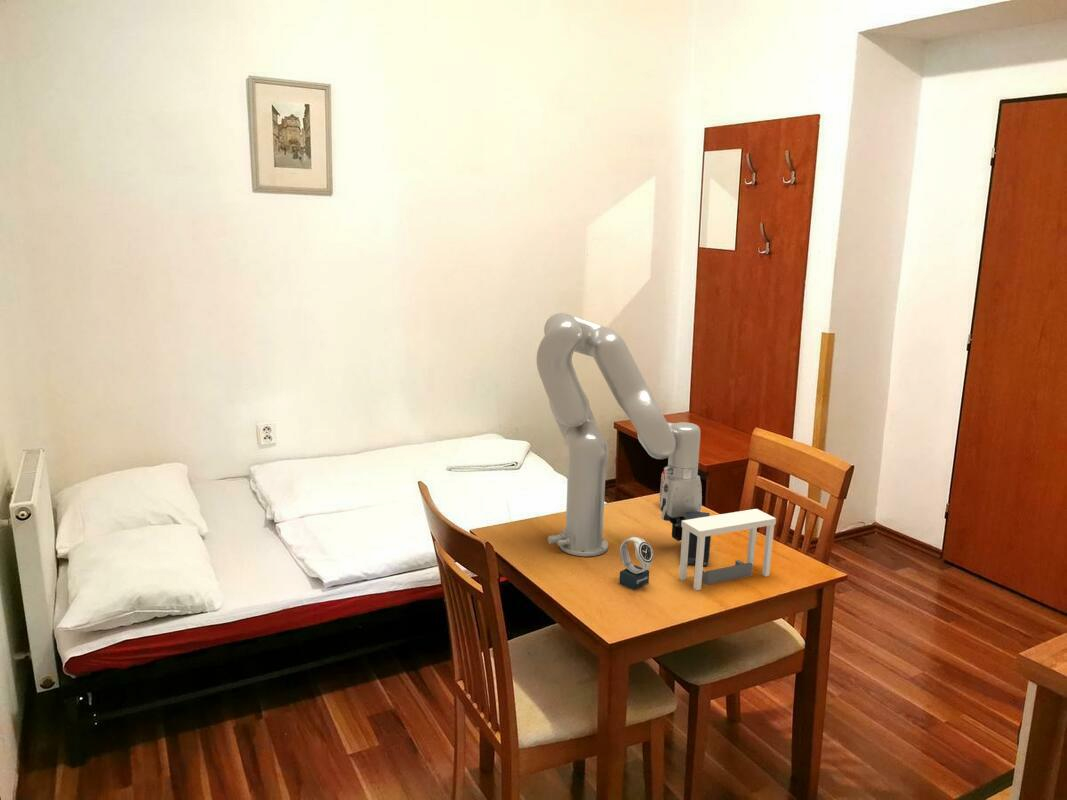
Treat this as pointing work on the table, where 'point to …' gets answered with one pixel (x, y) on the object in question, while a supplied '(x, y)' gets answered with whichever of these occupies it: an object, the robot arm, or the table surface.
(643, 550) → the watch
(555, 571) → the table surface
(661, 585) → the table surface
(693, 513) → the small box
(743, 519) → the overhang shelf
